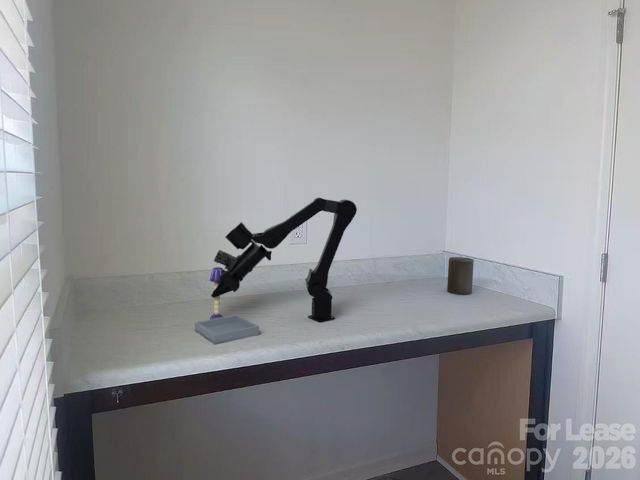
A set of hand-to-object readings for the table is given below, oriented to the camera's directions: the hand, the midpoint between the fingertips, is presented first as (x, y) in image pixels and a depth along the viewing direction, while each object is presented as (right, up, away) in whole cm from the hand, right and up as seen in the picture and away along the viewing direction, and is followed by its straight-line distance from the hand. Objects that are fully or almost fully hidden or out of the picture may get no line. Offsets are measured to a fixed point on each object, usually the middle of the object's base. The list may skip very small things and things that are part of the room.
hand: (213, 295), depth 143 cm
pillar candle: (+90, -4, +43) cm, 100 cm away
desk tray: (+6, -10, -10) cm, 16 cm away
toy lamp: (+1, -8, +1) cm, 8 cm away
